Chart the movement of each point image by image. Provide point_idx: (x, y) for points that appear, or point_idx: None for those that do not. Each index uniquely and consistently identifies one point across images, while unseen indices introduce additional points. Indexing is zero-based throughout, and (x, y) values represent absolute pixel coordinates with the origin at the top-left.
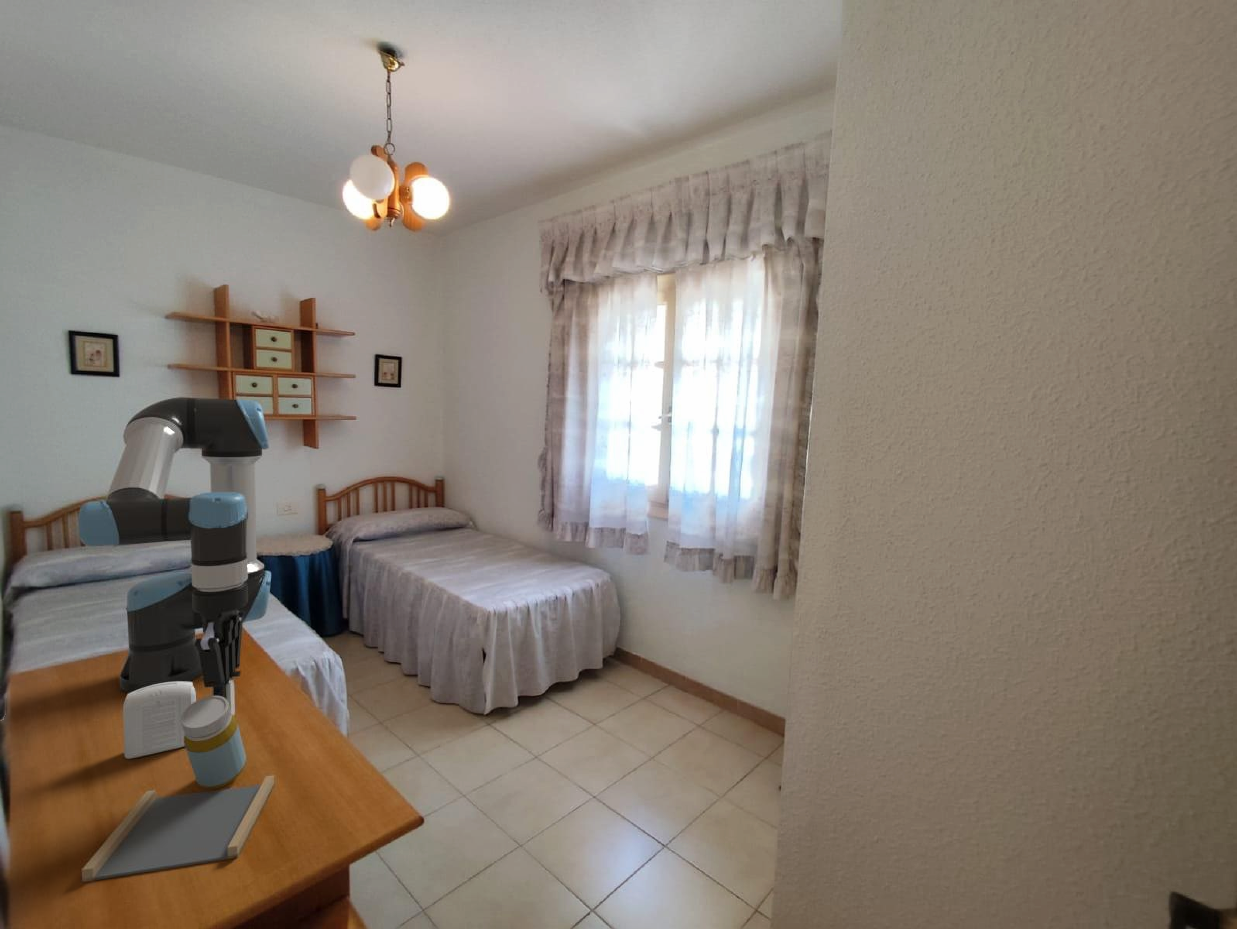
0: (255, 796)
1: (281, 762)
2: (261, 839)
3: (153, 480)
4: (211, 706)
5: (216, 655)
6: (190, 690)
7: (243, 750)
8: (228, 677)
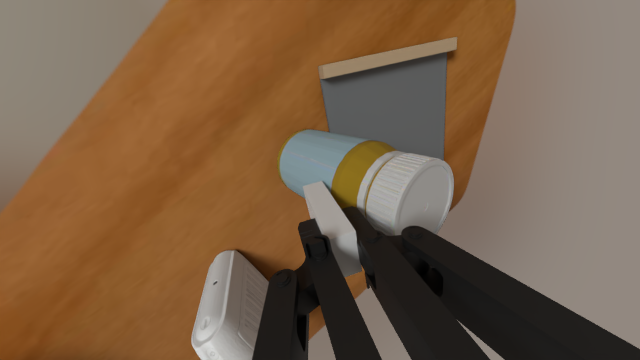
0: (369, 68)
1: (260, 87)
2: (421, 22)
3: None
4: (415, 206)
5: (615, 338)
6: (220, 328)
7: (308, 137)
8: (371, 245)
